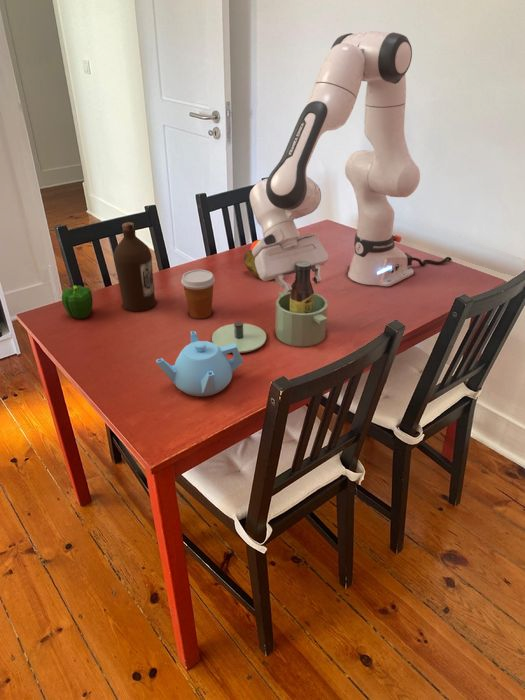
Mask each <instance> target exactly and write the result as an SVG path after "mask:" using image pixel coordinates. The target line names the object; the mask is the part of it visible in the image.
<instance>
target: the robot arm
mask: <svg viewBox="0 0 525 700" xmlns="http://www.w3.org/2000/svg"><path fill="white" fill-rule="evenodd" d="M412 59H413V49H412V44H411V42H410V40H409V38H408V37H407V36H406V35H405V34H402V33H398V32H393V31H392V32H384V31H368V32H358V33H351V32H350V33H345V34H342V35H340V36H338V37H337V38H336V39H335V40H334V42H333V43H332V45H331V47H330V50H329V51H328V53H327V55H326V57H325V58H324V61H323V63H322V65H321V67H320V69H319V72H318V74H317V77H316V78H315V82H314V86H313V88H312V90H311V94H310V96H309V99H308V101H307V104H306V106H305V107H304V108H303V110H302V111H301V113H300V115H299V118H298V119H297V122H296V124H295V126H294V129H293V130H292V133H291V135H290V138H289V141H288V142H287V145H286V147H285V150H284V152H283V155H282V157H281V158H280V160H279V162H278V163H277V164H276V166H274V168H273V170H272V171H271V172H270V174H269V175H268V177H267V178H264V179H261V180H260V181H258V182H257V183H255V184H254V186H253V187H252V188H251V190H250V192H249V203H250V206H251V210H252V213H253V215H254V219H255V220H256V223H257V224H258V225H259V226H260V228H261V231H262V236H263V237H262V238H261V239H259V240H260V241H259V242H258V243H257V244H256V245H255V247H254V248H253V250H252V254H253V256H254V257H256V258H255V266H256V269H257V272H258V275H259V277H260V278H259V277H258V278H259V279H260V280H261V281H262V282H268V281H273V280H274V281H275V283H276V284H277V285H278V286H280V287H281V288H282V291H284V292H285V293H287V292H288V293H289V292H291V291H292V287H291V286H292V284H291V283H287V281H285V280H284V277H287V276H289V275H293V274H296V269H295V264H296V262H298V261H308V262H310V263H311V271H312V272H313V273H314V276H313V277H312V278H311V280H312V281H313V284H314V285H317V284H320V283H322V278H321V277H322V276H321V269H322V268H321V266H324V265H325V264H326V263H327V262H328V261H329V254H328V252H327V251H326V249H325V247H324V245H323V244H322V242H321V240H320V238H319V237H318V235H315V234H313V233H311V232H309V233H306V234H300V231H299V230H298V228H297V226H296V223H295V221H294V220H297V219H301V218H303V217H306V216H308V215H310V214H312V213H314V212H315V211H316V210H317V209H318V208H319V205H320V203H321V201H322V199H321V198H322V192H321V188H320V186H319V184H317V183H316V182H315V181H314V180H312V178H310V177H308V175H307V168H308V165H309V163H310V161H311V158H312V156H313V153H314V151H315V149H316V146H317V144H318V141H319V140H320V138H321V137H322V135H323V134H324V133H326V132H331V131H336V130H338V129H340V128H341V127H343V126H344V125H346V123H347V121H348V120H349V118H350V117H351V114H352V112H353V110H354V107H355V104H356V102H357V98H358V95H359V92H360V89H361V85H362V82H366V86H365V98H364V116H363V117H364V118H363V119H364V121H363V133H364V136H365V138H366V139H367V140H368V142H369V143H370V145H371V146H372V149H373V150H371V149H370V150H369V149H363V150H361V149H360V150H356V151H353V152H352V153H351V154H350V155H349V156H348V158H347V160H346V162H345V164H344V165H345V166H344V174H345V177H346V179H347V180H348V181H349V183H350V185H351V187H352V189H353V193H354V195H355V199H356V205H357V225H356V226H357V227H356V232H355V234H354V243H353V245H354V249H353V253H352V259H351V263H350V264H349V269H348V273H347V277H348V278H349V279H350V280H351V281H353V282H356V283H358V284H362V285H366V286H367V285H368V286H381V287H391V286H393V285H395V284H398V283H399V282H401V281H403V280H405V279H406V278H407V279H408V278H409V277H410V276H412V275H414V269H413V268H412V267H410V266H412V264H413V261H416V262H417V263H418V264H419V265H420V266H425V264H426V263H430V264H434V265H443V264H444V263H446V262H447V261H449V262H452V261H453V259H452V258H451V257H450V256H446V257H445V258H444V259H442V260H439V261H437V260H432V259H423V261H422V259H420V258H418V257H413V256H412V255H410V254H409V253H406V252H403V251H402V249H400V248H399V247H397V246H396V245H395V242H396V243H401V241H402V236H400V235H397V234H396V235H394V234H393V231H394V222H395V210H394V208H393V207H392V205H391V204H390V202H389V200H388V197H391V198H408V197H409V196H411V195H413V194H414V193H415V191H416V190H417V188H418V186H419V184H420V181H421V171H420V168H419V166H418V165H417V163H415V161H414V160H413V158H412V156H411V154H410V151H409V148H408V144H407V141H406V135H405V118H406V117H405V116H406V115H405V114H406V102H407V101H406V100H407V80H406V79H407V78H406V73H407V72H408V71H409V68H410V66H411V63H412ZM387 196H388V197H387Z"/></svg>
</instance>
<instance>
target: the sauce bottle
mask: <svg viewBox="0 0 525 700" xmlns="http://www.w3.org/2000/svg"><path fill="white" fill-rule="evenodd" d="M295 269H296V273H295V276H294V281H293V282H292V284H291V287H292V291H290V292H291V295H290V312H293V313H302V314H303V313H313V300H314V293H315V290H314V289H313V288H314V287H313V284H312V281H311V271H312V269H311V263H310V262H308V261H298V262H296V264H295Z"/></svg>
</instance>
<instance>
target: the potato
mask: <svg viewBox="0 0 525 700" xmlns="http://www.w3.org/2000/svg"><path fill="white" fill-rule="evenodd" d="M255 258H256V257H254V256H253V254H252V250H250V249H249V250H248V251H247V252H246V253H244V255H243V263H244V265H245V267H246V268H247V270H248V271H250V272H251V273H252V274H253V275H254V276H255V277H257V278H259V279H260V277H259V275H258V272H257V269H256V266H255Z"/></svg>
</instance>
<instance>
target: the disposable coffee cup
mask: <svg viewBox="0 0 525 700" xmlns="http://www.w3.org/2000/svg"><path fill="white" fill-rule="evenodd" d="M215 281H216V278H215V276H214V274H213V272H211V271H210V270H207V269H191V270H188V271H186V272H185V273H183V274H182V277H181V279H180V282H181V285H182V286H183V290H184V294H185V299H186V303H187V309H188V312H189V316H190V317H191V318H192V319H206V318H209V317H210V316H211V315H212V308H213V298H214V297H213V295H214V284H215Z"/></svg>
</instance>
